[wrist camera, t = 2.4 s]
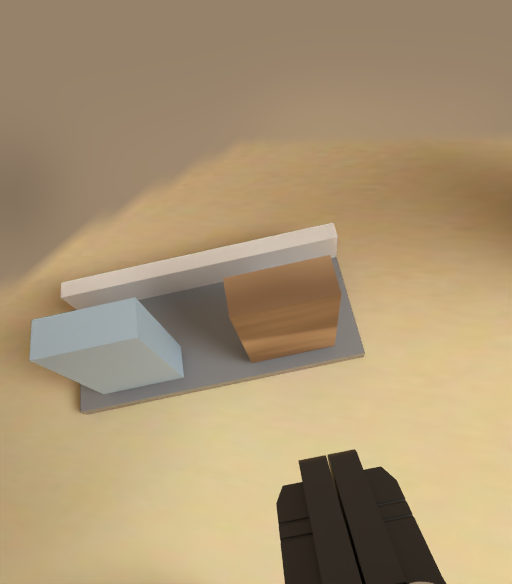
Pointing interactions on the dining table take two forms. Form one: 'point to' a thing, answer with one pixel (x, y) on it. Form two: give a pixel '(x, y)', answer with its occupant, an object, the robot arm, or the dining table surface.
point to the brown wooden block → (285, 308)
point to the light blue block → (107, 347)
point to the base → (211, 313)
